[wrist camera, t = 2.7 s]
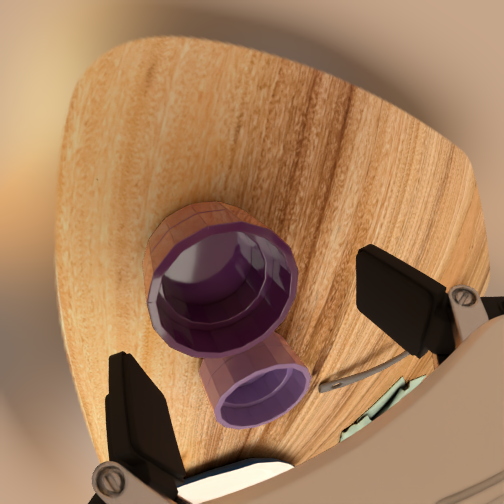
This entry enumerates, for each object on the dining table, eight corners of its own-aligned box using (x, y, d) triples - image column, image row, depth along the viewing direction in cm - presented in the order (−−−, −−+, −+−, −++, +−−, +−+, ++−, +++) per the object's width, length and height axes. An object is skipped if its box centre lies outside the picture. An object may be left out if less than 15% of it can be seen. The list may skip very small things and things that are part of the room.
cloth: (326, 439, 34) (334, 450, 32) (428, 348, 36) (437, 356, 34) (351, 449, 45) (356, 457, 43) (424, 384, 47) (431, 390, 45)
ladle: (456, 314, 35) (473, 331, 31) (302, 375, 30) (318, 406, 26) (468, 284, 32) (488, 300, 28) (307, 340, 27) (326, 374, 23)
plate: (301, 461, 36) (309, 473, 33) (206, 505, 33) (210, 516, 31) (251, 439, 25) (261, 457, 23) (124, 490, 22) (128, 506, 20)
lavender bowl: (188, 389, 18) (203, 432, 15) (213, 319, 16) (235, 365, 13) (263, 387, 21) (284, 422, 18) (296, 326, 20) (327, 361, 16)
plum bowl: (132, 302, 14) (136, 352, 11) (162, 183, 12) (173, 202, 9) (238, 317, 17) (265, 359, 14) (278, 218, 15) (319, 244, 12)
